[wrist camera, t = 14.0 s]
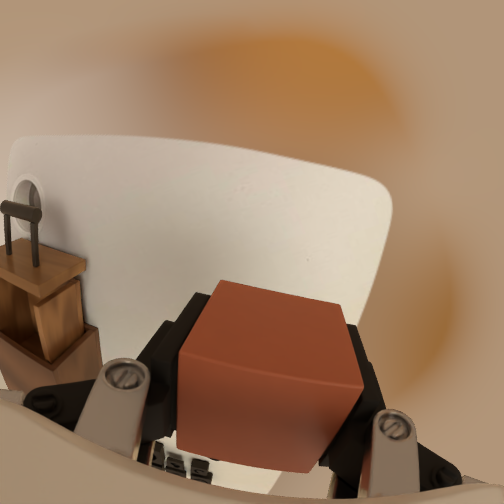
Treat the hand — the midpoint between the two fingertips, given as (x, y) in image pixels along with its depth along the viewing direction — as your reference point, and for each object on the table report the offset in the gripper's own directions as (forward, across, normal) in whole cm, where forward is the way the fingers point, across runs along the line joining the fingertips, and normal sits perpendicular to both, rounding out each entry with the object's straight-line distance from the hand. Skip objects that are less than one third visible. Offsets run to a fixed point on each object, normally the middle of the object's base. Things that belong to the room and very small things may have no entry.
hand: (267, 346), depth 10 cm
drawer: (+14, +24, +9) cm, 29 cm away
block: (0, 0, 0) cm, 0 cm away
